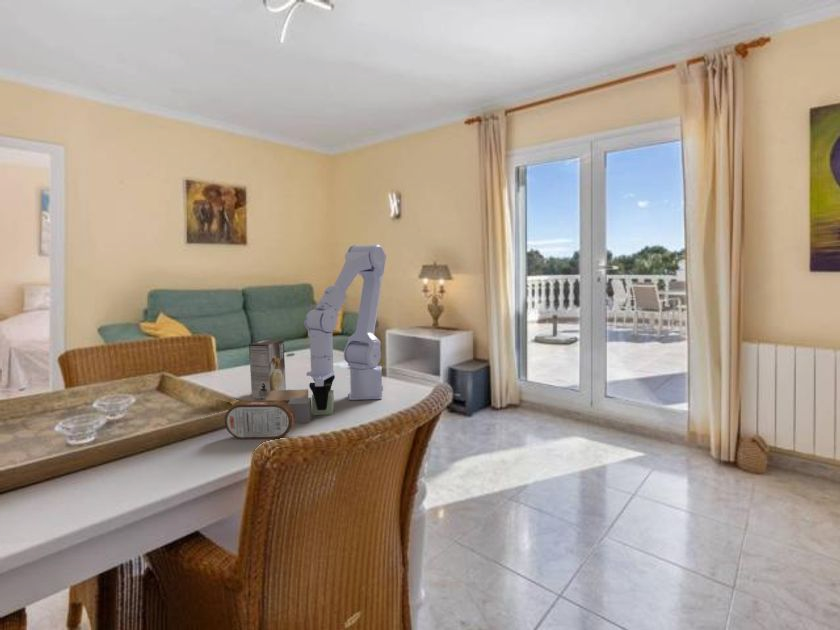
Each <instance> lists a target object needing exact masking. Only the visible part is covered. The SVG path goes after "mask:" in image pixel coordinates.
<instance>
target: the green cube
mask: <svg viewBox="0 0 840 630" xmlns="http://www.w3.org/2000/svg"><path fill="white" fill-rule="evenodd" d="M334 394H335V393H334V389H331V390H329V395H328V402H327V408H326V410H318V409H317V406H316V401H315V397H314V395H313V394H312V395H311V403H312V416H317V415H319V416H321V415H322V416H323V415H333V412H334V410H333V409H335V400H334V399H335V398H334V396H335V395H334Z"/></svg>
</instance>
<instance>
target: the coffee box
mask: <svg viewBox="0 0 840 630" xmlns="http://www.w3.org/2000/svg"><path fill="white" fill-rule="evenodd" d="M284 341H285V340H284V339H276V338H275V339H274V338H273V339H271V338H269V339H267V338H265V339H262V340H258V341H255V342H252V343H248V347H249V349H248V351H249V367H250V369H249V371H250V385H251V386H250V387H251V399H261V398H262V399H261V400H263V399H264V400H265V399H266V398H267V396H268V395H269V393H270V392H271V391H276V390H287V387H286V386H287V385H286V383H287V382H286V367H285V366H286V364H285V363H286V361H285V343H284Z"/></svg>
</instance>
